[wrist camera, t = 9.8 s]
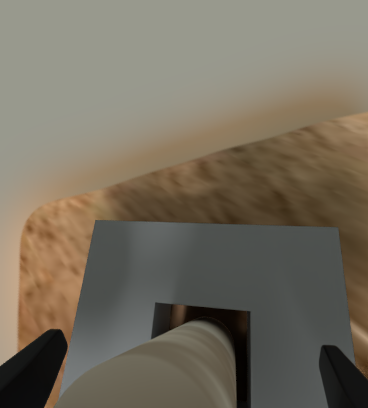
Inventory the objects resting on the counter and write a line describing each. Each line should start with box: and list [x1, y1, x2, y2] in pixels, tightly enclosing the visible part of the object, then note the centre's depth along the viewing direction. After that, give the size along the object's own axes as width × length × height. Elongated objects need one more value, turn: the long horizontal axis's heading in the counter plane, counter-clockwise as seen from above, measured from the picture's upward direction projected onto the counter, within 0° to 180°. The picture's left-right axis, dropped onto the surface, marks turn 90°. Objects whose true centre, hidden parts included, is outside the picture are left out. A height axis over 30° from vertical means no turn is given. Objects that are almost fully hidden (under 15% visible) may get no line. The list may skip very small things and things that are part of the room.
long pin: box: [54, 317, 237, 408], centre depth 10 cm, size 4×4×13 cm
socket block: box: [58, 220, 355, 408], centre depth 14 cm, size 14×14×4 cm
